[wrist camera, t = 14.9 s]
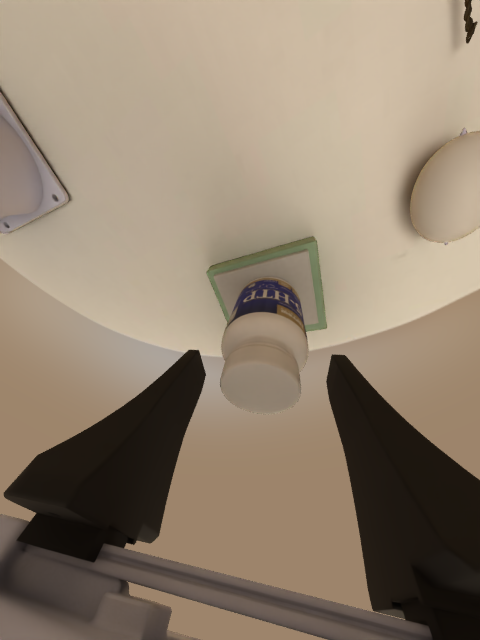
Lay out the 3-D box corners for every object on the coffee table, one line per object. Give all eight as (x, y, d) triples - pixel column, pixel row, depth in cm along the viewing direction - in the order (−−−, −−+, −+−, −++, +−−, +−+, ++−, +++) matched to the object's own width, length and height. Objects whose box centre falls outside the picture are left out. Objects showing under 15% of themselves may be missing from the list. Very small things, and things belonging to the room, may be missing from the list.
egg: (396, 247, 15) (428, 263, 12) (399, 151, 12) (442, 138, 9) (461, 229, 14) (515, 242, 11) (481, 118, 11) (565, 89, 8)
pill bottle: (308, 281, 15) (337, 367, 8) (290, 334, 18) (297, 430, 11) (242, 268, 16) (209, 340, 8) (234, 322, 18) (205, 409, 11)
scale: (238, 333, 22) (234, 346, 20) (210, 265, 18) (203, 274, 16) (323, 319, 19) (328, 332, 17) (313, 235, 15) (318, 242, 14)
